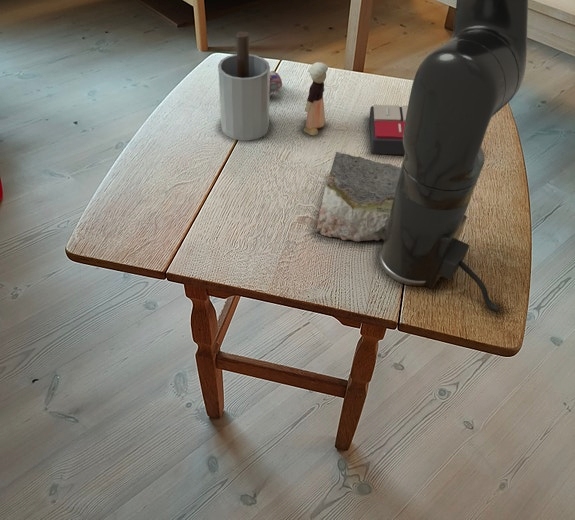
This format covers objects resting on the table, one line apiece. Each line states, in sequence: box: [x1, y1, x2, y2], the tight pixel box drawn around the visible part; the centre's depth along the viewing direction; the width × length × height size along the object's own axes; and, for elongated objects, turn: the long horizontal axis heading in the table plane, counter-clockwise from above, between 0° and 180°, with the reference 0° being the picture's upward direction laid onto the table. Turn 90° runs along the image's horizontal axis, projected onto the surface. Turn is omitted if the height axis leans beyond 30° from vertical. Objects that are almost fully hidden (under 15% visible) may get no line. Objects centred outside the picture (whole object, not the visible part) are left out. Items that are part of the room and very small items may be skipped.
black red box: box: [368, 104, 408, 156], centre depth 99 cm, size 11×4×15 cm
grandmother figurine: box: [303, 61, 329, 136], centre depth 97 cm, size 8×4×13 cm, turn 168°
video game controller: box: [269, 70, 283, 96], centre depth 106 cm, size 10×5×7 cm, turn 104°
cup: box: [217, 53, 271, 142], centre depth 96 cm, size 9×9×12 cm
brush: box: [235, 31, 250, 78], centre depth 94 cm, size 4×4×17 cm
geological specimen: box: [315, 151, 401, 242], centre depth 85 cm, size 11×6×15 cm
